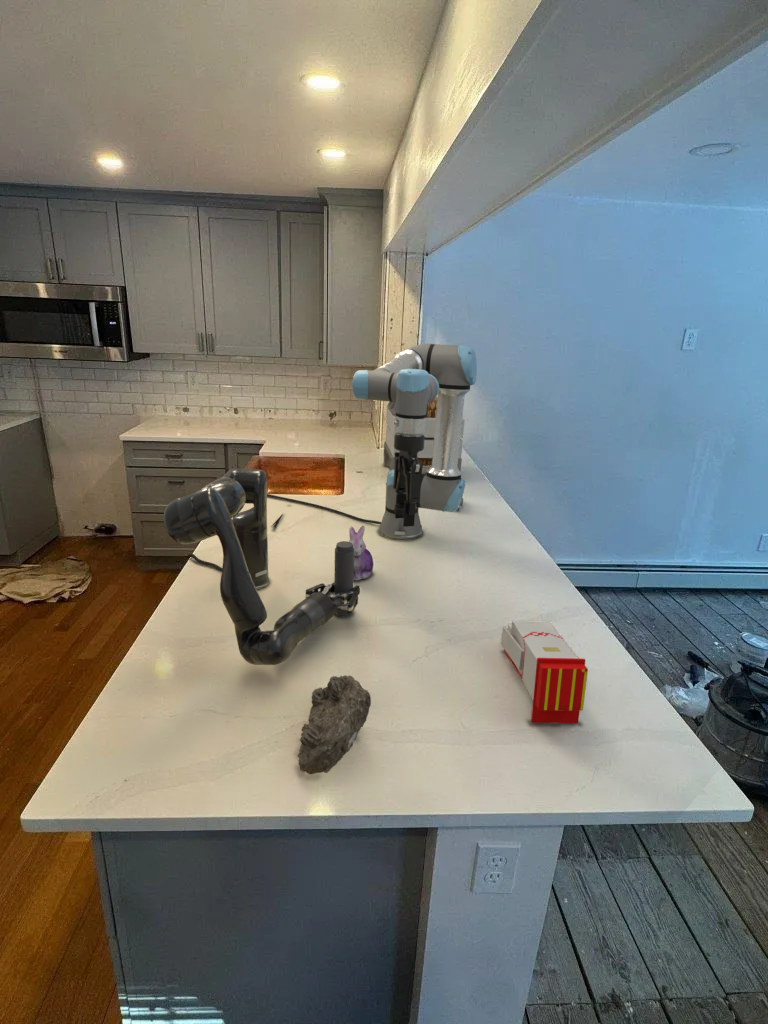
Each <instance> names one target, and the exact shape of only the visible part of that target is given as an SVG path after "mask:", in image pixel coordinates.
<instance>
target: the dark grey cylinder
mask: <svg viewBox="0 0 768 1024" xmlns="http://www.w3.org/2000/svg"><path fill="white" fill-rule="evenodd" d="M353 577H354V548H353V544H352V543H351V542H349V540H348V541H347V540H342V541H339V542H337V543H336V545H335V548H334V578H333V579H334V581H333V583H334V594H337V593H340V592H348V591H350V590H351V589H352V588H353V587H354V580H353ZM347 598H348V596H347ZM353 613H354V611H353V612H352V613H351V614H348V613H347V610H343V609H342V610H341V611H338V612H336V613H335V614H334V616H336V617H339V618H348V617H351V616H352V615H353Z"/></svg>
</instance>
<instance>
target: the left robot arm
mask: <svg viewBox="0 0 768 1024" xmlns="http://www.w3.org/2000/svg"><path fill="white" fill-rule="evenodd" d="M267 494H268V476H267V474H266V471H265V470H263V469H259V468H232V469H229V470H228V471H226V473H224V475H223V476H222V477H219V478H218V479H215V480H213V481H211V482H209V483H208V484H206V485H205V486H203V487H202V488H200V489H198V490H196V491H194V492H190V493H188V494H186V495H183V496H180V497H177V498H175V499H173V500H171V501H170V502H169V503H168V504H167V505H166V506H165V509H164V512H163V524H164V528H165V531H166V532H167V534H168V535H169V537H170V538H171V539H172V540H174V541H175V542H177V543H179V544H181V545H192V544H196V543H198V542H201V541H204V540H206V539H211V538H212V537H216V536H217V538H218V540H219V542H220V545H221V548H222V567H221V566H219V564H216V563H213V562H209V561H206V560H202V559H200V558H198V557H197V556H196V554H194V553H189V554H188V555H187V556H186V558H187V559H190V558H192V559H193V560H194V561H195V562H197V563H199V564H201V565H205V566H209V567H212V568H214V569H216V570H217V571H219V572H221V573H220V574H221V575H220V583H219V592H220V599H221V602H222V603H223V606H224V608H225V610H226V611H227V613H228V616H229V617H230V619H231V621H232V624H233V625H234V626H233V627H234V631H235V636H236V640H237V641H236V642H237V647H238V650H239V653H240V656H241V657H242V658H243V660H244V661H245V662H247V663H248V664H250V665H254V666H277V665H281V664H283V663H284V662H286V661H287V660H288V659H289V658H290V657H291V656H292V654H293V653H294V651H295V650H296V648H297V647H298V645H299V643H300V642H302V641H303V640H304V639H305V638H307V637H309V636H310V635H312V634H313V633H316V631H318V630H319V629H320V628H322V627H323V626H324V625H325V624H327V623H328V622H329V621H330V620H331V619H333V617H334V616H335V613H336V612H338V611H341V610H342V609H343V610H347V613H348V614H351V613H352V612H353V613H354V611H355V609H356V607H357V606H358V604H359V595H360V593H361V588H360V585H355V586H353V588H352V589H351V590H350V591H348V592H340V593H337V594H334V582H332V583H328V584H327V585H326V584H325V583H319V584H316V585H314V586H312V587H310V588H307V589H305V598H304V599H303V600H301V601H300V602H298V603H296V605H294V606H293V608H291V609H290V610H289V611H287V612H286V613H284V614H283V615H281V616H280V617H279V618H277V620H276V621H275V623H274V625H273V630H262V629H261V627H260V626H262V624H264V622H265V621H266V620H267V617H268V611H267V609H266V607H265V606H266V605H264V602H263V600H262V598H261V596H260V594H259V591H258V590H261V589H263V588H265V587H267V586H268V585H269V584H270V577H269V545H268V540H269V539H268V496H267ZM245 504H249V505H250V504H251V505H253V506H252V507H251V508H249V509H246V510H244V511H242V510H243V508H244V506H245ZM347 596H348V598H347ZM353 613H352V614H353Z"/></svg>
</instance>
